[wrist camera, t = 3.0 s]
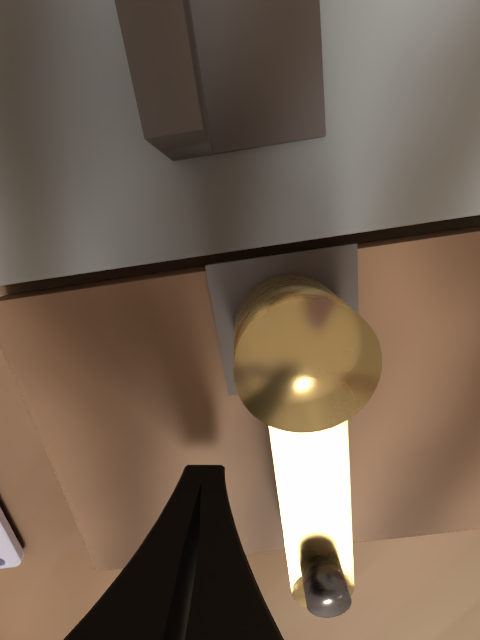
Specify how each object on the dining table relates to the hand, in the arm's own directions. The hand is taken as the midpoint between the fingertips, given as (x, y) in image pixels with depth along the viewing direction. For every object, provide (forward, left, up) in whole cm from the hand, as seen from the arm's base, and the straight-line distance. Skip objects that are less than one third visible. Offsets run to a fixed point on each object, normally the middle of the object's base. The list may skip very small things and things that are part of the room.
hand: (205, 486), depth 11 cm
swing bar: (+4, +1, -1) cm, 4 cm away
